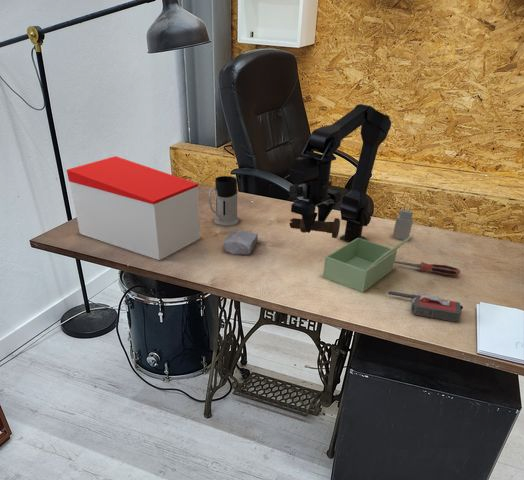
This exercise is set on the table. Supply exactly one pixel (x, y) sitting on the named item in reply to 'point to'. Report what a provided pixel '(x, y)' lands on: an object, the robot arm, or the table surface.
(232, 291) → the table surface
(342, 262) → the carton
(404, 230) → the power adapter
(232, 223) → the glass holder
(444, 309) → the walkie-talkie
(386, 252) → the flap
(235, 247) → the stone block
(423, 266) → the screwdriver
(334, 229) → the bolt
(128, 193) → the red-lidded white box
